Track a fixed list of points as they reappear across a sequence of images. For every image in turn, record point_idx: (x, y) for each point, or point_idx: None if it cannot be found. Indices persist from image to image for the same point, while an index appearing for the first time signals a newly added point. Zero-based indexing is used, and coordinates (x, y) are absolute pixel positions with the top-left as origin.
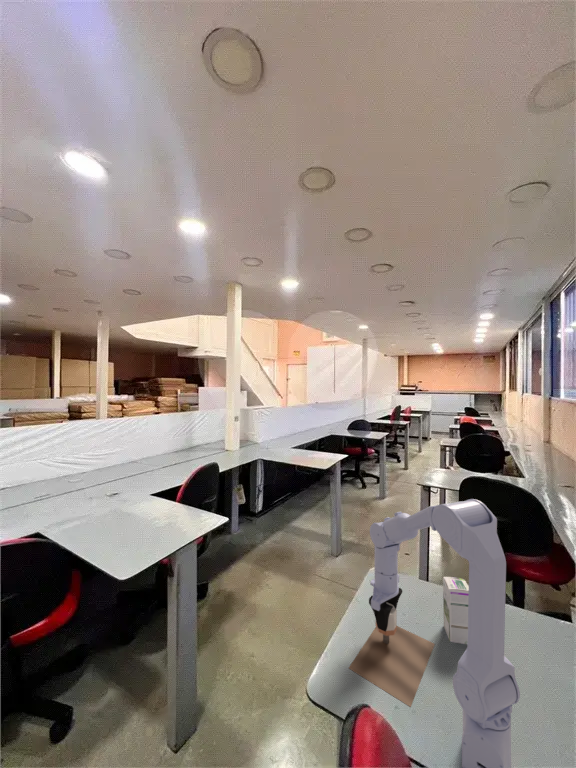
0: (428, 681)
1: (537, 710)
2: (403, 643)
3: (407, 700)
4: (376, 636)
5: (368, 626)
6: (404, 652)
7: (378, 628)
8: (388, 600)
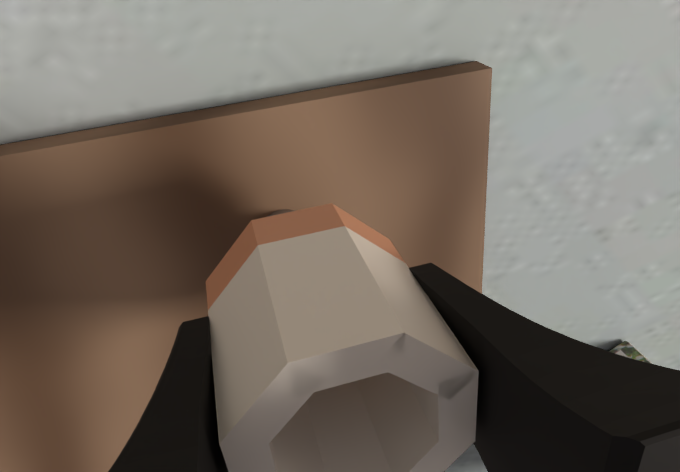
0: None
1: None
2: None
3: None
4: (267, 157)
5: (353, 3)
6: None
7: (208, 297)
8: (499, 415)
